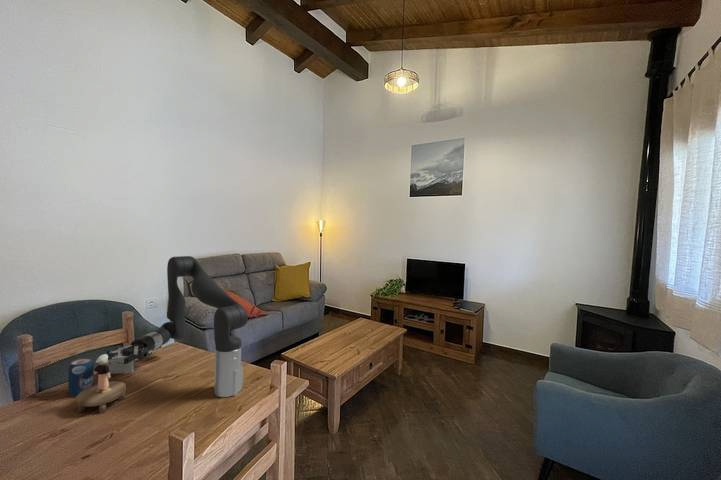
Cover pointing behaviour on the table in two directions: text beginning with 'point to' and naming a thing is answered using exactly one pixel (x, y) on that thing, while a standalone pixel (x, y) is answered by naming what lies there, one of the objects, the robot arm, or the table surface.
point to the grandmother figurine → (103, 374)
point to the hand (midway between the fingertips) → (113, 360)
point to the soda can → (80, 376)
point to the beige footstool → (100, 396)
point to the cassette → (120, 365)
